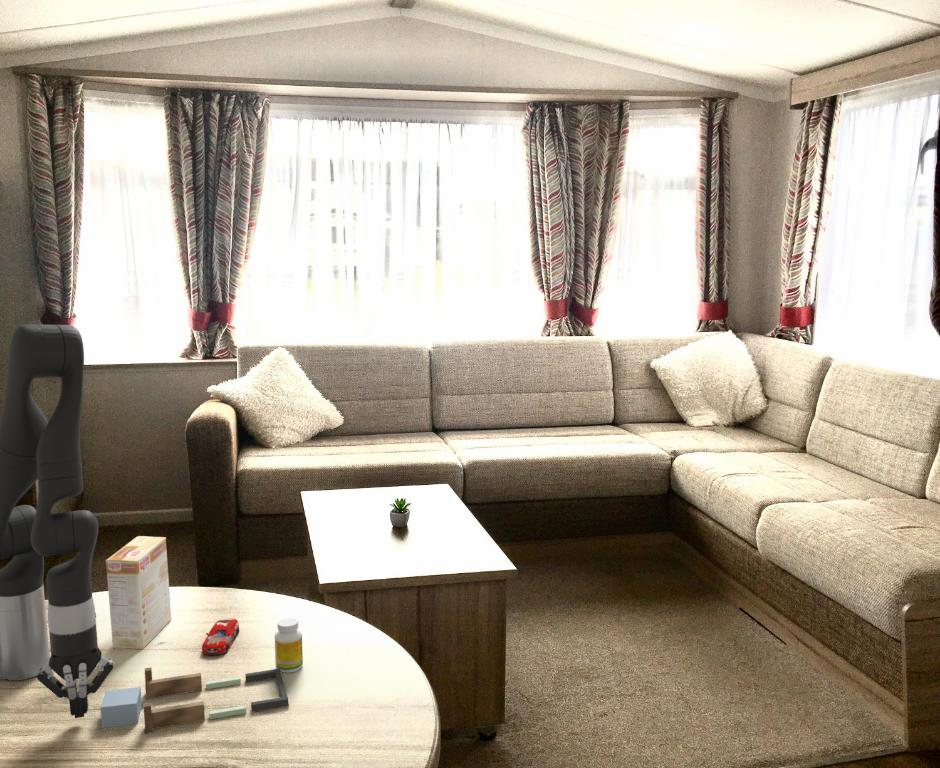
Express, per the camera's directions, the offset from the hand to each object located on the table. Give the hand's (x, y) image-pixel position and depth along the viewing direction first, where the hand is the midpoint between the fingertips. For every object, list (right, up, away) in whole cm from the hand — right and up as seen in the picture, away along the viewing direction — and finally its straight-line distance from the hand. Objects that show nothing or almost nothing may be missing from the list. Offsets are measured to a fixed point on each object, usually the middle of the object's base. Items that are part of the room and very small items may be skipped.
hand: (80, 715), depth 160 cm
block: (+6, -1, +3) cm, 7 cm away
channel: (+15, -1, +5) cm, 16 cm away
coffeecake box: (-2, +4, +36) cm, 36 cm away
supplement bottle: (+33, +2, +21) cm, 39 cm away
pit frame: (+30, 0, +10) cm, 32 cm away
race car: (+16, +3, +32) cm, 36 cm away
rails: (+24, 0, +8) cm, 25 cm away
